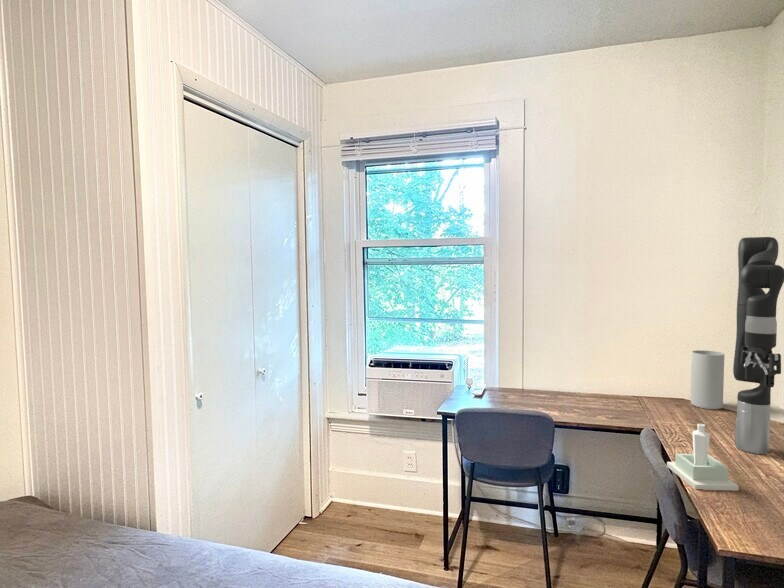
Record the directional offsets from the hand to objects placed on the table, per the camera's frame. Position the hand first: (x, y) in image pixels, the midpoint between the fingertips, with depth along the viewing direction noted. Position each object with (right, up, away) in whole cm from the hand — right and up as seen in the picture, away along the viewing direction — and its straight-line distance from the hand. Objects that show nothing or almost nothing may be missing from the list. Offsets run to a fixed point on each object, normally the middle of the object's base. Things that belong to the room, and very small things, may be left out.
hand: (758, 383), depth 142 cm
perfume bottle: (-17, -28, +1) cm, 33 cm away
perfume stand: (-17, -29, +1) cm, 34 cm away
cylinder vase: (+34, -25, +74) cm, 86 cm away
